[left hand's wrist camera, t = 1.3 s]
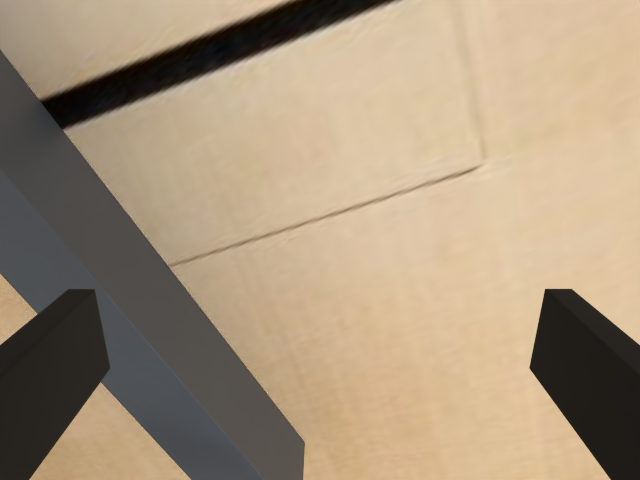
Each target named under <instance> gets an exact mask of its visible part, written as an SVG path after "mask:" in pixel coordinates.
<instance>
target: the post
mask: <svg viewBox="0 0 640 480" xmlns="http://www.w3.org/2000/svg"><path fill="white" fill-rule="evenodd" d="M0 274H1V275H2V276H3V277H4V278H5V279H6V280H7V281H8V282H9V283H10V284H11V286H12V287H13V288H14V289H15V290H16V291H17V292H18V293H19V294H20V295H21V296H22V297H23V298H24V300H25V301H26V302H27V303H28V304H29V305H30V306H31V307H32V308H33V309H34V310H35V311H36V312H37V314H39V313H40V312H41V311H42V310H44V309H45V308H46V307H47V306H48V305H50V304H51V303H52V302H53V301H55V300H56V299H57V298H58V297H59V296H61V295H62V294H63V293H64V292H65V291H67V290H68V289H95V293H96V298H97V303H98V308H99V313H100V318H101V323H102V328H103V333H104V338H105V343H106V348H107V353H108V358H109V363H110V370H109V371H108V372H107V374H106V375H105V376H104V378H103V379H102V381H101V383H102V384H103V385H104V386H105V387H106V388H107V389H108V390H109V391H110V392H111V393H112V394H113V396H114V397H115V398H116V399H117V400H118V401H119V402H120V403H121V404H122V405H123V406H124V407H125V408H126V410H127V411H128V412H129V413H130V414H131V415H132V416H133V417H134V418H135V419H136V420H137V421H138V422H139V424H140V425H141V426H142V427H143V428H144V429H145V430H146V431H147V432H148V433H149V434H150V435H151V436H152V438H153V439H154V440H155V441H156V442H157V443H158V444H159V445H160V446H161V447H162V448H163V449H164V451H165V452H166V453H167V454H168V455H169V456H170V457H171V458H172V459H173V460H174V461H175V462H176V463H177V465H178V466H179V467H180V468H181V469H182V470H183V471H184V472H185V473H186V474H187V475H188V476H189V477H190V479H191V480H303V468H304V446H305V442H304V441H303V440H302V438H301V437H300V436H299V435H298V433H297V432H296V431H295V429H294V428H293V427H292V426H291V424H290V423H289V422H288V420H287V419H286V418H285V417H284V415H283V414H282V413H281V411H280V410H279V409H278V408H277V406H276V405H275V404H274V402H273V401H272V400H271V399H270V397H269V396H268V395H267V393H266V392H265V391H264V389H263V388H262V387H261V386H260V384H259V383H258V382H257V380H256V379H255V378H254V377H253V375H252V374H251V373H250V371H249V370H248V369H247V368H246V366H245V365H244V364H243V362H242V361H241V360H240V359H239V357H238V356H237V355H236V353H235V352H234V351H233V350H232V348H231V347H230V346H229V344H228V343H227V342H226V341H225V339H224V338H223V337H222V335H221V334H220V333H219V331H218V330H217V329H216V328H215V326H214V325H213V324H212V322H211V321H210V320H209V319H208V317H207V316H206V315H205V313H204V312H203V311H202V310H201V308H200V307H199V306H198V304H197V303H196V302H195V301H194V299H193V298H192V297H191V295H190V294H189V293H188V292H187V290H186V289H185V288H184V286H183V285H182V284H181V282H180V281H179V280H178V279H177V277H176V276H175V275H174V273H173V272H172V271H171V270H170V268H169V267H168V266H167V264H166V263H165V262H164V261H163V259H162V258H161V257H160V255H159V254H158V253H157V252H156V250H155V249H154V248H153V246H152V245H151V244H150V243H149V241H148V240H147V239H146V237H145V236H144V235H143V234H142V232H141V231H140V230H139V228H138V227H137V226H136V224H135V223H134V222H133V221H132V219H131V218H130V217H129V215H128V214H127V213H126V212H125V210H124V209H123V208H122V206H121V205H120V204H119V203H118V201H117V200H116V199H115V197H114V196H113V195H112V194H111V192H110V191H109V190H108V188H107V187H106V186H105V185H104V183H103V182H102V181H101V179H100V178H99V177H98V175H97V174H96V173H95V172H94V170H93V169H92V168H91V166H90V165H89V164H88V163H87V161H86V160H85V159H84V157H83V156H82V155H81V154H80V152H79V151H78V150H77V148H76V147H75V146H74V145H73V143H72V142H71V141H70V139H69V138H68V137H67V136H66V134H65V133H64V132H63V130H62V129H61V128H60V127H59V125H58V124H57V123H56V121H55V120H54V119H53V117H52V116H51V115H50V114H49V112H48V111H47V110H46V108H45V107H44V106H43V105H42V103H41V102H40V101H39V99H38V98H37V97H36V96H35V94H34V93H33V92H32V90H31V89H30V88H29V87H28V85H27V84H26V83H25V81H24V80H23V79H22V78H21V76H20V75H19V74H18V72H17V71H16V70H15V68H14V67H13V66H12V65H11V63H10V62H9V61H8V59H7V58H6V57H5V56H4V54H3V53H2V52H1V50H0Z"/></svg>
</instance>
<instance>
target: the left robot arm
mask: <svg viewBox="0 0 640 480" xmlns="http://www.w3.org/2000/svg"><path fill="white" fill-rule="evenodd" d="M109 370H110V363H109V358H108V353H107V348H106V343H105V338H104V333H103V328H102V323H101V318H100V313H99V308H98V303H97V298H96V293H95V289H68V290H67V291H65V292H64V293H63V294H62V295H61V296H59V297H58V298H57V299H56V300H55V301H53V302H52V303H51V304H50V305H48V306H47V307H46V308H45V309H44V310H42V311H41V312H40V313H39V314H38V315H36V316H35V317H34V318H33V319H32V320H30V321H29V322H28V323H27V324H25V325H24V326H23V327H22V328H21V329H19V330H18V331H17V332H16V333H15V334H13V335H12V336H11V337H10V338H8V339H7V340H6V341H5V342H4V343H2V344H1V345H0V480H29V479H30V478H31V476H32V475H33V474H34V472H35V471H36V470H37V468H38V467H39V465H40V464H41V463H42V461H43V460H44V459H45V457H46V456H47V454H48V453H49V452H50V450H51V449H52V448H53V446H54V445H55V444H56V442H57V441H58V439H59V438H60V437H61V435H62V434H63V433H64V431H65V430H66V428H67V427H68V426H69V424H70V423H71V422H72V420H73V419H74V418H75V416H76V415H77V413H78V412H79V411H80V409H81V408H82V407H83V405H84V404H85V402H86V401H87V400H88V398H89V397H90V396H91V394H92V393H93V392H94V390H95V389H96V387H97V386H98V385H99V383H100V382H101V381H102V379H103V378H104V376H105V375H106V374H107V372H108V371H109ZM530 370H531V371H532V372H533V374H534V375H535V376H536V378H537V379H538V381H539V382H540V383H541V385H542V386H543V387H544V389H545V390H546V392H547V393H548V394H549V396H550V397H551V398H552V400H553V401H554V402H555V404H556V405H557V407H558V408H559V409H560V411H561V412H562V413H563V415H564V416H565V418H566V419H567V420H568V422H569V423H570V424H571V426H572V427H573V428H574V430H575V431H576V433H577V434H578V435H579V437H580V438H581V439H582V441H583V442H584V444H585V445H586V446H587V448H588V449H589V450H590V452H591V453H592V454H593V456H594V457H595V459H596V460H597V461H598V463H599V464H600V465H601V467H602V468H603V470H604V471H605V472H606V474H607V475H608V476H609V478H610V479H611V480H640V345H639V344H638V343H636V342H635V341H634V340H633V339H632V338H630V337H629V336H628V335H627V334H625V333H624V332H623V331H622V330H621V329H619V328H618V327H617V326H616V325H615V324H613V323H612V322H611V321H610V320H608V319H607V318H606V317H605V316H604V315H602V314H601V313H600V312H599V311H598V310H596V309H595V308H594V307H593V306H592V305H590V304H589V303H588V302H587V301H585V300H584V299H583V298H582V297H581V296H579V295H578V294H577V293H576V292H575V291H573V290H572V289H545V293H544V298H543V303H542V308H541V313H540V318H539V323H538V328H537V333H536V338H535V343H534V348H533V353H532V358H531V363H530Z"/></svg>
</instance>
